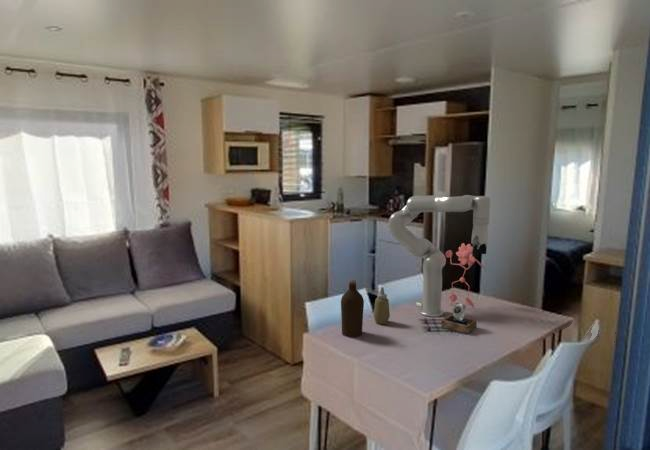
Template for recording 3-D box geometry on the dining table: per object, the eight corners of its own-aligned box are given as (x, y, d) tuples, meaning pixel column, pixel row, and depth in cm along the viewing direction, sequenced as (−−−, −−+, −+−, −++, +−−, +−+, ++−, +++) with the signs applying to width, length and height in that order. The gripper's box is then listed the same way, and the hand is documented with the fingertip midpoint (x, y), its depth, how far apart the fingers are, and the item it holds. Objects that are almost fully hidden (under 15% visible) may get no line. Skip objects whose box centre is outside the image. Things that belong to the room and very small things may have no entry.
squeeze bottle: (371, 324, 222) (372, 288, 219) (375, 318, 229) (376, 284, 226) (387, 326, 218) (388, 290, 216) (391, 321, 226) (392, 286, 223)
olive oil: (365, 337, 205) (366, 283, 202) (343, 338, 203) (343, 284, 200) (360, 328, 215) (361, 277, 212) (338, 330, 214) (338, 278, 210)
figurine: (477, 313, 238) (481, 248, 233) (437, 301, 258) (440, 241, 253) (493, 308, 247) (497, 245, 243) (453, 297, 267) (456, 239, 263)
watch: (450, 327, 215) (451, 305, 214) (457, 322, 221) (458, 301, 220) (461, 330, 212) (462, 307, 210) (468, 325, 218) (469, 303, 216)
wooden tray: (441, 328, 216) (441, 320, 216) (450, 322, 225) (451, 314, 224) (467, 334, 208) (468, 326, 208) (476, 328, 217) (476, 320, 216)
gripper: (479, 219, 230) (478, 251, 233) (466, 222, 217) (465, 257, 219) (494, 220, 226) (492, 253, 228) (482, 223, 212) (480, 259, 215)
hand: (479, 255), depth 224 cm, fingers open, 9 cm apart
